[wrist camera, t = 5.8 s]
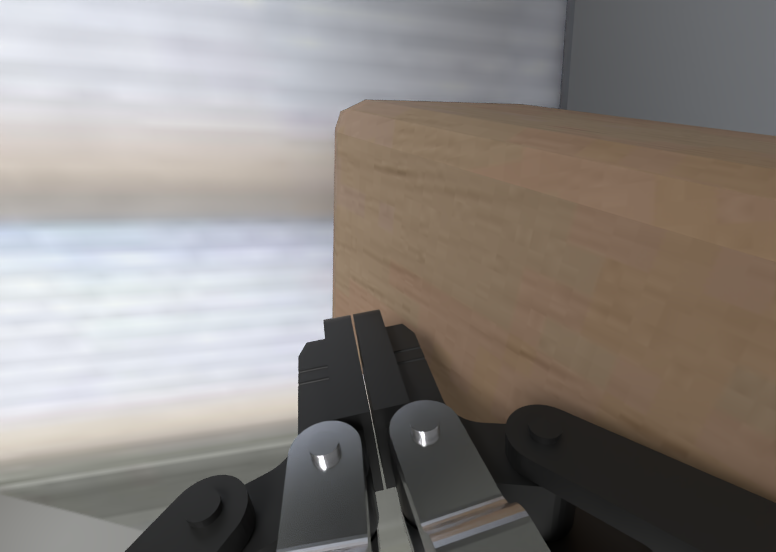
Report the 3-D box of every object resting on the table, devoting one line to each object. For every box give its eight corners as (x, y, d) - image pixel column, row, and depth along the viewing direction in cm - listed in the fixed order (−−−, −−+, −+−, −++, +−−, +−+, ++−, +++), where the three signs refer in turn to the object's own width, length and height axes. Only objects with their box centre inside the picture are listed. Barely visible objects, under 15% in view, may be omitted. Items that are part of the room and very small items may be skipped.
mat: (576, -135, 16) (586, -142, 15) (931, -167, 18) (951, -174, 17) (542, 363, 27) (547, 369, 26) (760, 313, 29) (769, 318, 28)
